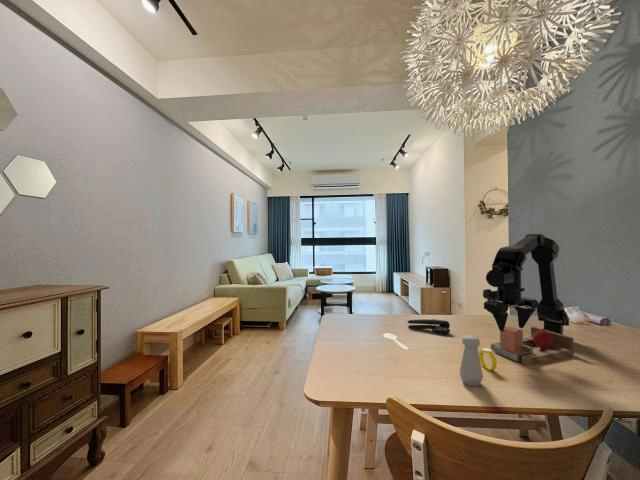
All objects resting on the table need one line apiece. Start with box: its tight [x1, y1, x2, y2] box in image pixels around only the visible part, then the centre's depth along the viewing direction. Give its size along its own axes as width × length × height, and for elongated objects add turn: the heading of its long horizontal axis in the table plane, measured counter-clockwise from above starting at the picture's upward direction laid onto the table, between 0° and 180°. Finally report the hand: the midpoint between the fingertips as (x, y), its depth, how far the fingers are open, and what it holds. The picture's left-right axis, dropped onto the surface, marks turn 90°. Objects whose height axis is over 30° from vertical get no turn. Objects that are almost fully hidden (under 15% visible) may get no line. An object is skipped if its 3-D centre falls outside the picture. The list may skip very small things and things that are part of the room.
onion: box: [533, 327, 553, 351], centre depth 99 cm, size 6×6×8 cm
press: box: [493, 325, 534, 362], centre depth 94 cm, size 7×8×9 cm
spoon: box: [383, 332, 410, 351], centre depth 109 cm, size 5×18×1 cm, turn 11°
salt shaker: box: [458, 334, 484, 388], centre depth 77 cm, size 6×6×13 cm
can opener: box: [407, 318, 451, 336], centre depth 121 cm, size 18×7×6 cm, turn 60°
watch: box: [478, 347, 498, 372], centre depth 85 cm, size 6×3×6 cm, turn 9°
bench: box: [490, 326, 575, 366], centre depth 97 cm, size 22×13×6 cm, turn 108°
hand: (511, 329), depth 94 cm, fingers open, 9 cm apart
